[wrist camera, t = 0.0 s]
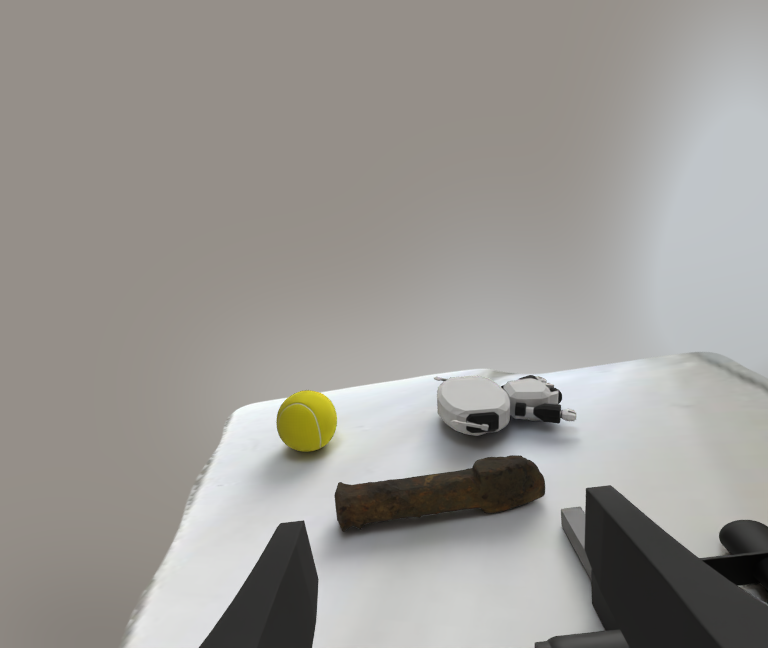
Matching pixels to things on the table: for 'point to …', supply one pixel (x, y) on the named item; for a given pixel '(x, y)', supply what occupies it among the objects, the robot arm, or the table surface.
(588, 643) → the toy submachine gun
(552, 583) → the table surface
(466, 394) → the robot toy
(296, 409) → the tennis ball
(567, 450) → the table surface
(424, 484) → the brown rough rod
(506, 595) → the table surface
